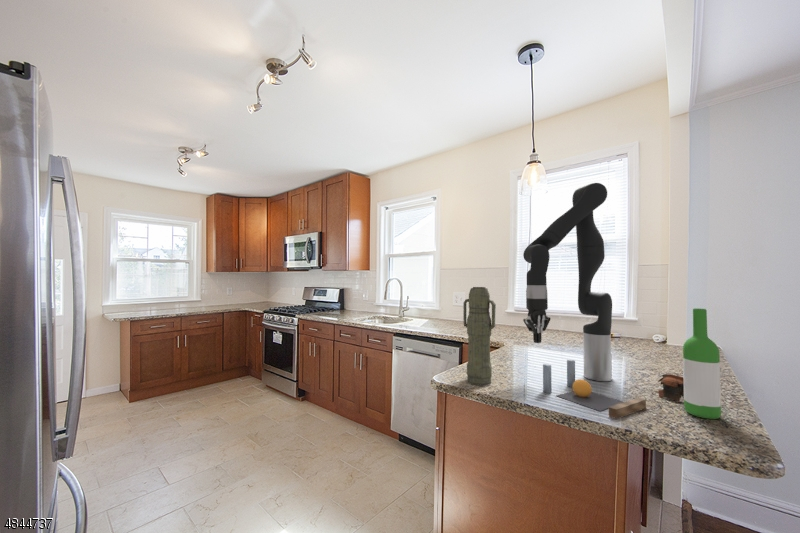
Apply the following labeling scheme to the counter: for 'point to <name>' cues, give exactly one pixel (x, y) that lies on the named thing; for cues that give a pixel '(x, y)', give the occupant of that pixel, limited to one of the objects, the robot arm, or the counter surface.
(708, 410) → the wine bottle
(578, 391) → the ball
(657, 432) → the counter surface
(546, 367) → the post
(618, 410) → the wall
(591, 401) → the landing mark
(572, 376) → the post
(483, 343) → the thermos
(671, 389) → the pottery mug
